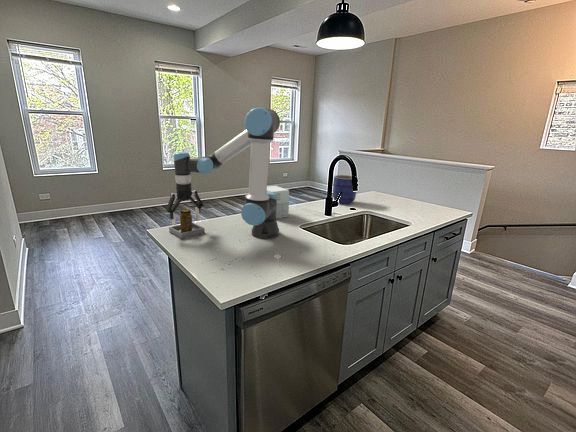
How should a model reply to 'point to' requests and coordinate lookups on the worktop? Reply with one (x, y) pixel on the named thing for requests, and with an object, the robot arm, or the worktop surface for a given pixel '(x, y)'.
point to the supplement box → (280, 200)
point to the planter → (343, 189)
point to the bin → (196, 231)
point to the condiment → (185, 220)
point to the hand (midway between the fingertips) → (186, 221)
